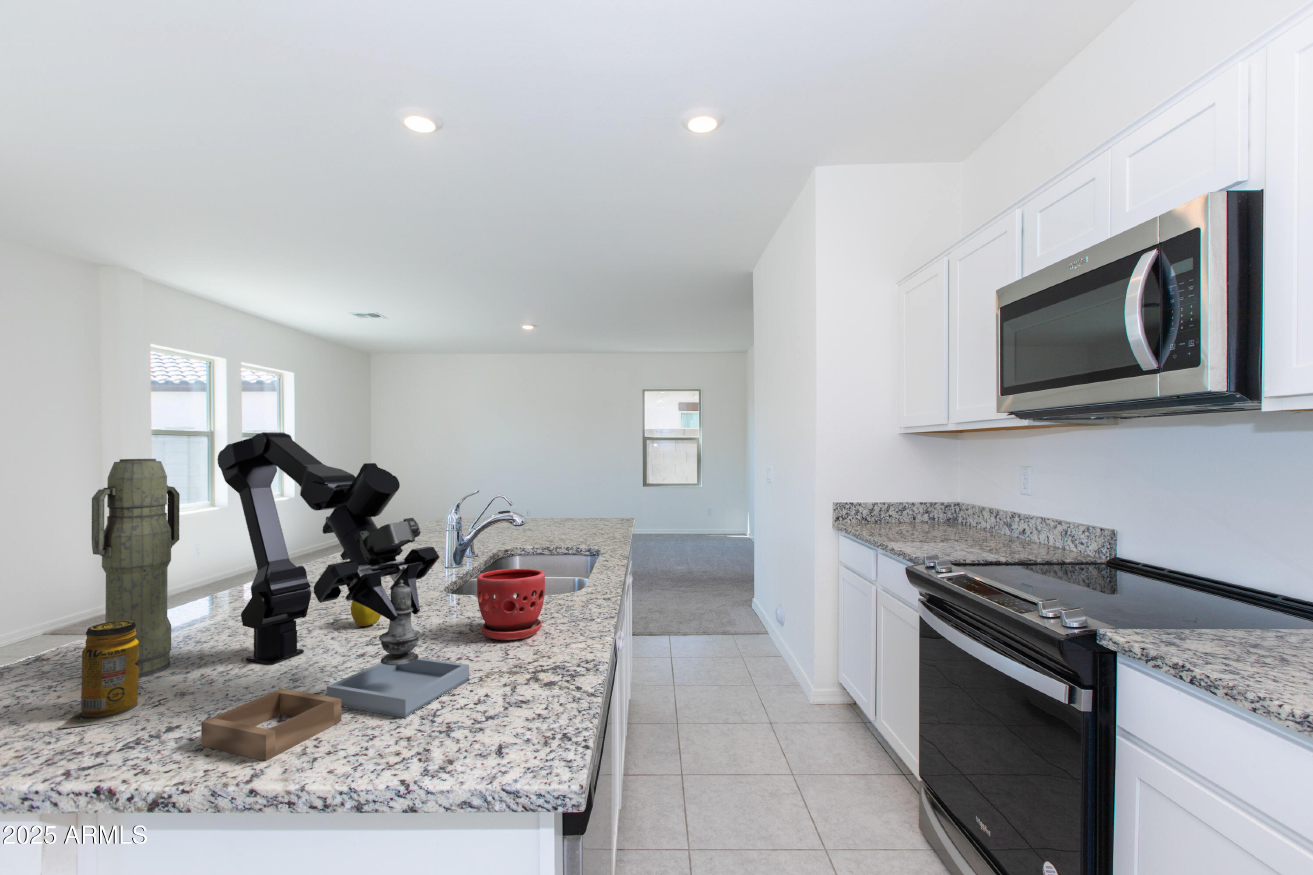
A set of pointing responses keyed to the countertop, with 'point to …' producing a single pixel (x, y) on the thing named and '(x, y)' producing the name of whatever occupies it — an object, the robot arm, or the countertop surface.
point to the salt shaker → (400, 630)
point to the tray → (399, 686)
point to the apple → (363, 614)
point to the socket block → (245, 739)
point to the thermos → (138, 553)
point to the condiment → (109, 675)
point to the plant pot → (511, 602)
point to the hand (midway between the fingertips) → (406, 615)
